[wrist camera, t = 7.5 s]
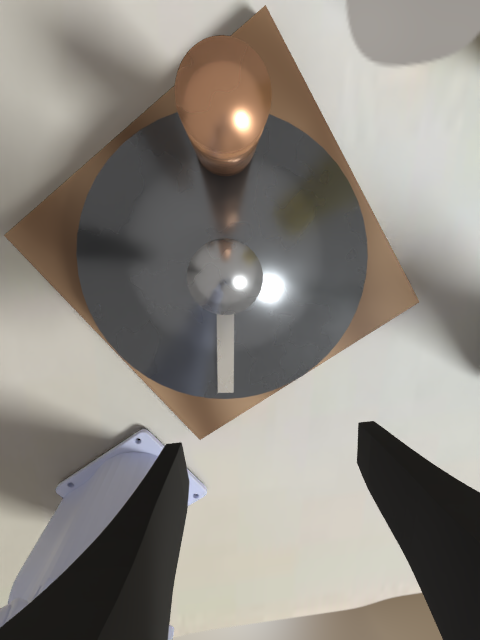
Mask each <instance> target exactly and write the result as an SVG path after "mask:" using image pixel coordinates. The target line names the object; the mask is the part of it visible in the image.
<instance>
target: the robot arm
mask: <svg viewBox="0 0 480 640" xmlns="http://www.w3.org/2000/svg"><path fill="white" fill-rule="evenodd" d="M136 438H139V439H141V440H137V439H136ZM357 464H358V466H359V469H360V471H361V474H362V476H363V478H364V481H365V483H366V485H367V488H368V490H369V492H370V493H371V495H372V497H373V499H374V501H375V502H376V504H377V506H378V508H379V510H380V512H381V513H382V515H383V517H384V519H385V520H386V522H387V524H388V526H389V528H390V529H391V531H392V533H393V535H394V537H395V538H396V540H397V542H398V544H399V545H400V547H401V549H402V551H403V553H404V555H405V557H406V559H407V561H408V563H409V565H410V567H411V569H412V571H413V573H414V575H415V578H416V580H417V582H418V584H419V586H420V588H421V591H422V593H423V595H424V597H425V599H426V602H427V604H428V606H429V609H430V611H431V613H432V615H433V618H434V620H435V622H436V624H437V627H438V629H439V631H440V634H441V636H442V638H443V640H480V492H478V491H476V490H474V489H472V488H471V487H469V486H467V485H465V484H464V483H462V482H461V481H459V480H457V479H456V478H454V477H452V476H451V475H449V474H448V473H446V472H445V471H443V470H441V469H440V468H438V467H437V466H435V465H434V464H432V463H431V462H429V461H428V460H426V459H425V458H424V457H422V456H421V455H419V454H418V453H416V452H415V451H414V450H412V449H411V448H409V447H408V446H407V445H405V444H404V443H403V442H401V441H400V440H399V439H397V438H396V437H394V436H393V435H392V434H390V433H389V432H388V431H386V430H385V429H384V428H382V427H381V426H380V425H378V424H377V423H376V422H374V421H370V422H361V423H359V426H358V451H357ZM56 493H57V494H59V495H60V496H61V497H62V498H63V499H62V501H61V503H60V504H59V506H58V508H57V509H56V511H55V513H54V514H53V516H52V518H51V519H50V521H49V523H48V524H47V526H46V528H45V529H44V531H43V533H42V534H41V536H40V538H39V539H38V541H37V543H36V545H35V546H34V548H33V550H32V551H31V553H30V555H29V556H28V558H27V560H26V561H25V563H24V565H23V566H22V568H21V570H20V571H19V573H18V575H17V577H16V579H15V581H14V583H13V586H12V589H11V592H10V595H9V600H8V605H6V606H4V607H2V608H0V640H173V634H174V627H173V626H171V625H169V622H170V612H171V603H172V593H173V586H174V580H175V574H176V568H177V563H178V557H179V552H180V547H181V541H182V536H183V530H184V525H185V519H186V514H187V507H188V506H189V505H190V504H192V503H194V502H196V501H197V500H199V499H201V498H202V497H204V496H205V495H206V494H207V488H206V486H205V485H204V484H203V483H201V482H200V481H199V480H198V479H197V478H196V477H195V476H194V475H193V474H192V473H191V472H190V471H189V470H188V469H187V467H186V462H185V457H184V452H183V447H182V442H181V443H172V444H166V445H165V446H164V445H163V444H162V443H161V442H160V441H159V440H158V439H157V438H156V437H155V436H153V435H152V434H151V433H150V432H149V431H148V430H146V429H142V430H140V431H138V432H136V433H135V434H133V435H132V436H130V437H129V438H127V439H126V440H124V441H123V442H121V443H120V444H118V445H117V446H115V447H114V448H112V449H111V450H109V451H108V452H106V453H105V454H103V455H102V456H100V457H99V458H97V459H96V460H94V461H93V462H91V463H90V464H88V465H87V466H85V467H84V468H82V469H81V470H79V471H78V472H76V473H75V474H73V475H72V476H70V477H68V478H67V479H65V480H64V481H62V482H61V483H59V484H58V486H57V487H56Z"/></svg>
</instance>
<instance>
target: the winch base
mask: <svg viewBox="0 0 480 640" xmlns="http://www.w3.org/2000/svg"><path fill="white" fill-rule="evenodd" d="M231 37H235V38H237V39H240V40H242V41H243V42H245V43H246V44H248V45H249V46H250V47H252V48H253V49H254V50H255V51H256V53H257V54H258V55H259V56H260V58H261V59H262V61H263V63H264V65H265V67H266V69H267V72H268V74H269V78H270V82H271V90H272V100H271V108H270V112H269V114H270V115H273V116H275V117H277V118H280V119H282V120H284V121H286V122H289V123H290V124H292V125H293V126H295V127H297V128H298V129H300V130H301V131H303V132H305V133H306V134H308V135H309V136H310V137H311V138H312V139H313V140H315V141H316V142H317V143H318V144H319V145H320V146H322V147H323V148H324V149H325V150H326V152H327V153H328V154H329V155H330V156H331V157H332V158H333V160H334V161H335V162H336V163H337V164H338V166H339V167H340V169H341V170H342V172H343V173H344V175H345V176H346V178H347V179H348V181H349V183H350V185H351V187H352V189H353V191H354V194H355V196H356V198H357V200H358V203H359V206H360V209H361V213H362V216H363V219H364V225H365V230H366V236H367V253H368V260H367V271H366V279H365V283H364V288H363V293H362V296H361V299H360V302H359V305H358V307H357V310H356V313H355V315H354V317H353V319H352V321H351V323H350V325H349V327H348V328H347V330H346V331H345V333H344V334H343V336H342V337H341V339H340V340H339V342H338V343H337V344H336V345H335V347H334V348H333V349H332V350H331V351H330V353H329V354H328V355H327V356H326V357H325V358H324V359H322V360H321V361H320V362H319V363H318V364H317V365H316V366H315V367H317V366H318V365H320V364H322V363H323V362H325V361H326V360H328V359H330V358H331V357H333V356H334V355H336V354H337V353H339V352H341V351H342V350H344V349H345V348H347V347H349V346H350V345H352V344H353V343H355V342H357V341H358V340H360V339H361V338H363V337H365V336H366V335H368V334H369V333H371V332H372V331H374V330H376V329H377V328H379V327H380V326H382V325H384V324H385V323H387V322H388V321H390V320H392V319H393V318H395V317H396V316H398V315H399V314H401V313H403V312H404V311H406V310H407V309H409V308H411V307H412V306H414V305H415V304H417V303H419V300H418V298H417V296H416V294H415V292H414V290H413V288H412V286H411V285H410V283H409V281H408V279H407V277H406V275H405V273H404V271H403V269H402V267H401V265H400V263H399V261H398V259H397V258H396V256H395V254H394V252H393V250H392V248H391V246H390V244H389V242H388V240H387V238H386V236H385V234H384V233H383V231H382V229H381V227H380V225H379V223H378V221H377V219H376V217H375V215H374V213H373V211H372V209H371V207H370V206H369V204H368V202H367V200H366V198H365V196H364V194H363V192H362V190H361V188H360V186H359V184H358V182H357V181H356V179H355V177H354V175H353V173H352V171H351V169H350V167H349V165H348V163H347V161H346V159H345V157H344V155H343V154H342V152H341V150H340V148H339V146H338V144H337V142H336V140H335V138H334V136H333V134H332V132H331V130H330V129H329V127H328V125H327V123H326V121H325V119H324V117H323V115H322V113H321V111H320V109H319V107H318V105H317V103H316V102H315V100H314V98H313V96H312V94H311V92H310V90H309V88H308V86H307V84H306V82H305V80H304V78H303V76H302V75H301V73H300V71H299V69H298V67H297V65H296V63H295V61H294V59H293V57H292V55H291V53H290V51H289V50H288V48H287V46H286V44H285V42H284V40H283V38H282V36H281V34H280V32H279V30H278V28H277V26H276V24H275V23H274V21H273V19H272V17H271V15H270V13H269V11H268V9H267V7H266V5H265V6H264V7H263V8H262V9H261V10H260V11H258V12H257V13H256V14H255V15H254V16H253V17H252V18H250V19H249V20H248V21H247V22H246V23H245V24H244V25H242V26H241V27H240V28H239V29H238V30H237V31H236V32H235V33H233V34H232V35H231ZM176 112H178V111H177V108H176V103H175V85H174V86H173V87H172V88H171V89H170V90H169V91H168V92H166V93H165V94H164V95H163V96H162V97H161V98H160V99H158V100H157V101H156V102H155V103H154V104H153V105H152V106H150V107H149V108H148V109H147V110H146V111H145V112H144V113H143V114H141V115H140V116H139V117H138V118H137V119H136V120H135V121H133V122H132V123H131V124H130V125H129V126H128V127H127V128H125V129H124V130H123V131H122V132H121V133H120V134H119V135H118V136H116V137H115V138H114V139H113V140H112V141H111V142H110V143H108V144H107V145H106V146H105V147H104V148H103V149H102V150H100V151H99V152H98V153H97V154H96V155H95V156H94V157H93V158H91V159H90V160H89V161H88V162H87V163H86V164H85V165H83V166H82V167H81V168H80V169H79V170H78V171H77V172H75V173H74V174H73V175H72V176H71V177H70V178H69V179H68V180H66V181H65V182H64V183H63V184H62V185H61V186H60V187H58V188H57V189H56V190H55V191H54V192H53V193H52V194H51V195H49V196H48V197H47V198H46V199H45V200H44V201H43V202H41V203H40V204H39V205H38V206H37V207H36V208H35V209H33V210H32V211H31V212H30V213H29V214H28V215H27V216H26V217H24V218H23V219H22V220H21V221H20V222H19V223H18V224H16V225H15V226H14V227H13V228H12V229H11V230H10V231H8V232H7V233H6V234H5V235H4V236H5V237H6V238H7V239H8V240H9V241H10V242H11V243H12V244H13V245H14V246H15V247H16V248H17V249H18V251H19V252H20V253H21V254H22V255H23V256H24V257H25V258H26V259H27V260H28V261H29V262H30V263H31V264H32V265H33V266H34V267H35V268H36V269H37V270H38V271H39V272H40V273H41V275H42V276H43V277H44V278H45V279H46V280H47V281H48V282H49V283H50V284H51V285H52V286H53V287H54V288H55V289H56V290H57V291H58V292H59V293H60V294H61V295H62V296H63V297H64V299H65V300H66V301H67V302H68V303H69V304H70V305H71V306H72V307H73V308H74V309H75V310H76V311H77V312H78V313H79V314H80V315H81V316H82V317H83V318H84V319H85V320H86V322H87V323H88V324H89V325H90V326H91V327H92V328H93V329H94V330H95V331H96V332H97V333H98V334H99V335H100V336H101V337H102V338H103V339H104V340H105V341H106V342H107V343H108V341H107V340H106V339H105V337H104V336H103V334H102V333H101V331H100V330H99V328H98V327H97V325H96V323H95V321H94V319H93V317H92V315H91V313H90V311H89V309H88V306H87V304H86V301H85V298H84V296H83V293H82V288H81V284H80V280H79V275H78V266H77V256H76V253H77V233H78V227H79V222H80V216H81V212H82V209H83V206H84V203H85V200H86V197H87V194H88V192H89V190H90V188H91V186H92V184H93V182H94V180H95V178H96V176H97V175H98V173H99V172H100V170H101V169H102V168H103V166H104V165H105V163H106V162H107V160H108V159H109V158H110V157H111V156H112V155H113V153H114V152H115V151H116V150H117V149H118V148H119V147H120V146H121V145H122V144H123V143H124V142H125V141H127V140H128V139H129V138H130V137H132V136H133V135H134V134H135V133H137V132H138V131H139V130H141V129H142V128H144V127H146V126H148V125H149V124H151V123H153V122H155V121H157V120H158V119H160V118H163V117H166V116H168V115H171V114H174V113H176ZM108 344H109V343H108ZM109 346H110V347H111V348H112V349H113V350H114V348H113V347H112V346H111V345H110V344H109ZM114 351H115V350H114ZM115 352H116V351H115ZM116 353H117V352H116ZM117 354H118V353H117ZM118 355H119V354H118ZM119 356H120V355H119ZM120 357H121V356H120ZM121 358H122V357H121ZM122 359H123V358H122ZM123 360H124V359H123ZM124 361H125V360H124ZM125 362H126V361H125ZM126 363H127V364H128V365H129V366H130V367H131V368H132V370H133V371H134V372H135V373H136V374H137V375H138V376H139V377H140V378H141V379H142V380H143V381H144V382H145V383H146V384H147V385H148V386H149V387H150V388H151V389H152V390H153V391H154V392H155V394H156V395H157V396H158V397H159V398H160V399H161V400H162V401H163V402H164V403H165V404H166V405H167V406H168V407H169V408H170V409H171V410H172V411H173V412H174V413H175V414H176V415H177V416H178V418H179V419H180V420H181V421H182V422H183V423H184V424H185V425H186V426H187V427H188V428H189V429H190V430H191V431H192V432H193V433H194V434H195V435H196V436H197V437H198V438H199V439H200V440H201V439H202V438H204V437H205V436H207V435H209V434H210V433H212V432H213V431H215V430H217V429H218V428H220V427H221V426H223V425H225V424H226V423H228V422H229V421H231V420H233V419H234V418H236V417H237V416H239V415H240V414H242V413H244V412H245V411H247V410H248V409H250V408H252V407H253V406H255V405H256V404H258V403H260V402H261V401H263V400H264V399H266V398H267V397H269V396H271V395H272V394H274V393H275V392H277V391H279V390H280V389H282V388H283V387H285V386H287V385H288V384H287V385H284V386H282V387H280V388H277V389H275V390H273V391H269V392H266V393H263V394H259V395H255V396H250V397H244V398H234V399H213V398H204V397H198V396H192V395H189V394H185V393H181V392H178V391H175V390H173V389H170V388H168V387H165V386H163V385H161V384H159V383H157V382H155V381H153V380H151V379H150V378H148V377H146V376H145V375H143V374H142V373H140V372H139V371H138V370H136V369H135V368H133V367H132V366H131V365H130V364H129V363H128V362H126ZM315 367H313V368H312V369H314V368H315ZM312 369H311V370H312ZM309 371H310V370H309ZM309 371H308V372H309ZM305 374H306V373H305ZM294 381H295V380H294ZM292 382H293V381H292ZM289 384H290V383H289Z"/></svg>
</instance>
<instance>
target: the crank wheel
mask: <svg viewBox="0 0 480 640" xmlns="http://www.w3.org/2000/svg"><path fill="white" fill-rule="evenodd" d="M271 100H272V90H271V82H270V78H269V74H268V72H267V69H266V67H265V65H264V63H263V61H262V59H261V58H260V56H259V55H258V54H257V53H256V51H255V50H254V49H253V48H252V47H250V46H249V45H248V44H246V43H245V42H243V41H242V40H240V39H237V38H235V37H231V36H225V35H219V36H212V37H209V38H206V39H203V40H202V41H200V42H198V43H197V44H196V45H194V46H193V47H192V48H191V49H190V50H189V51H188V52H187V54H186V55H185V57H184V58H183V60H182V62H181V64H180V66H179V69H178V72H177V76H176V80H175V103H176V108H177V111H178V112H176V113H174V114H171V115H168V116H166V117H163V118H160V119H158V120H157V121H155V122H153V123H151V124H149V125H148V126H146V127H144V128H142V129H141V130H139V131H138V132H137V133H135V134H134V135H133V136H132V137H130V138H129V139H128V140H127V141H125V142H124V143H123V144H122V145H121V146H120V147H119V148H118V149H117V150H116V151H115V152H114V153H113V155H112V156H111V157H110V158H109V159H108V160H107V162H106V163H105V165H104V166H103V168H102V169H101V170H100V172H99V173H98V175H97V176H96V178H95V180H94V182H93V184H92V186H91V188H90V190H89V192H88V194H87V197H86V200H85V203H84V206H83V209H82V212H81V216H80V222H79V227H78V233H77V253H76V256H77V266H78V275H79V280H80V284H81V288H82V293H83V296H84V298H85V301H86V304H87V306H88V309H89V311H90V313H91V315H92V317H93V319H94V321H95V323H96V325H97V327H98V328H99V330H100V331H101V333H102V334H103V336H104V337H105V339H106V340H107V341H108V343H109V344H110V345H111V346H112V347H113V348H114V350H115V351H116V352H117V353H118V354H119V355H120V356H121V357H122V358H123V359H124V360H125V361H126V362H128V363H129V364H130V365H131V366H132V367H133V368H135V369H136V370H138V371H139V372H140V373H142V374H143V375H145V376H146V377H148V378H150V379H151V380H153V381H155V382H157V383H159V384H161V385H163V386H165V387H168V388H170V389H173V390H175V391H178V392H181V393H185V394H189V395H192V396H198V397H204V398H213V399H234V398H244V397H250V396H255V395H259V394H263V393H266V392H269V391H273V390H275V389H277V388H280V387H282V386H284V385H287V384H289V383H291V382H292V381H294V380H296V379H298V378H299V377H301V376H303V375H304V374H305V373H307V372H308V371H309V370H311V369H312V368H313V367H315V366H316V365H317V364H318V363H319V362H320V361H321V360H322V359H324V358H325V357H326V356H327V355H328V354H329V353H330V351H331V350H332V349H333V348H334V347H335V345H336V344H337V343H338V342H339V340H340V339H341V337H342V336H343V334H344V333H345V331H346V330H347V328H348V327H349V325H350V323H351V321H352V319H353V317H354V315H355V313H356V310H357V307H358V305H359V302H360V299H361V296H362V293H363V288H364V283H365V279H366V271H367V260H368V253H367V236H366V230H365V225H364V219H363V216H362V213H361V209H360V206H359V203H358V200H357V198H356V196H355V194H354V191H353V189H352V187H351V185H350V183H349V181H348V179H347V178H346V176H345V175H344V173H343V172H342V170H341V169H340V167H339V166H338V164H337V163H336V162H335V161H334V160H333V158H332V157H331V156H330V155H329V154H328V153H327V152H326V150H325V149H324V148H323V147H322V146H320V145H319V144H318V143H317V142H316V141H315V140H313V139H312V138H311V137H310V136H309V135H308V134H306V133H305V132H303V131H301V130H300V129H298V128H297V127H295V126H293V125H292V124H290V123H289V122H286V121H284V120H282V119H280V118H277V117H275V116H273V115H270V114H269V112H270V108H271Z"/></svg>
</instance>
